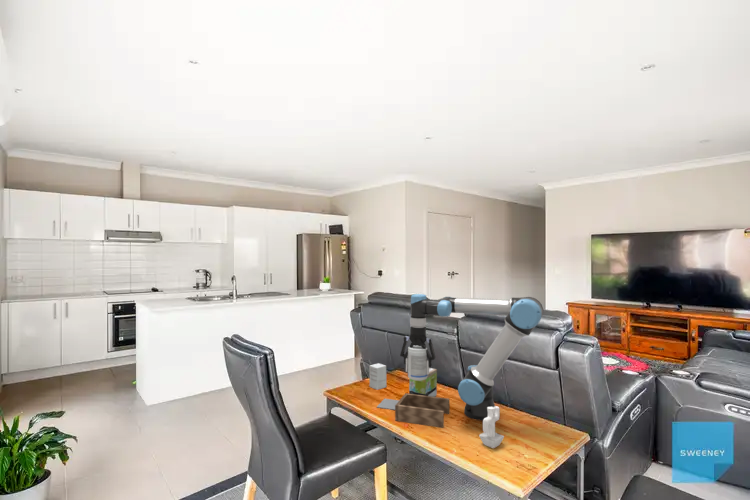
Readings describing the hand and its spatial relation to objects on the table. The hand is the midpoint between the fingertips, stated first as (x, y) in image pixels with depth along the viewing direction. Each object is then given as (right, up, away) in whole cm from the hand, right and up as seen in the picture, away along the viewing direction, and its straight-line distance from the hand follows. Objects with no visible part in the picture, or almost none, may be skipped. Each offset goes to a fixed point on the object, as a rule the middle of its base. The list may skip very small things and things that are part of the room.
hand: (417, 372), depth 185 cm
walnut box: (+3, -20, -3) cm, 20 cm away
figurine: (+27, -20, -31) cm, 45 cm away
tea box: (+5, -21, +21) cm, 30 cm away
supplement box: (-19, -21, +39) cm, 48 cm away
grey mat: (-12, -20, +12) cm, 26 cm away
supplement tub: (0, -3, 0) cm, 3 cm away
